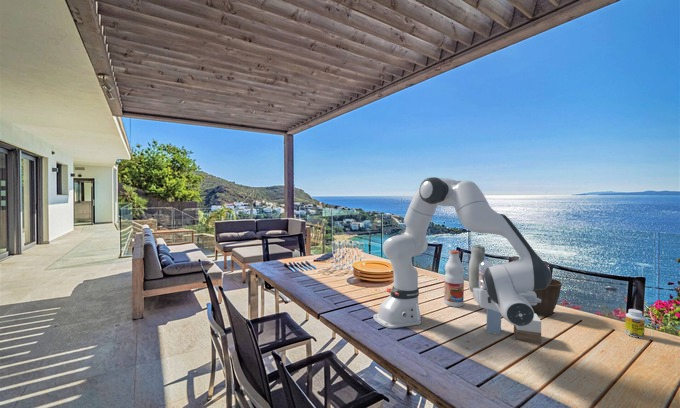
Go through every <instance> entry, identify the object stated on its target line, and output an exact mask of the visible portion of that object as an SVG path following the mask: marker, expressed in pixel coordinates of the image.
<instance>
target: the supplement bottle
mask: <svg viewBox="0 0 680 408" xmlns="http://www.w3.org/2000/svg"><path fill="white" fill-rule="evenodd" d="M645 320H646V318H645V316H644V315H643V311H642V310H638V309H635V308H629V309H628V311H627V312H626V313H625V321H624V333H625V334H626V336H629V335H630V337H632V336H633V337H632V338H635V337H639V338H638V339H644V338H645V325H646V324H645V323H646V321H645Z"/></svg>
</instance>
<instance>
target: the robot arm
mask: <svg viewBox="0 0 680 408" xmlns="http://www.w3.org/2000/svg"><path fill="white" fill-rule="evenodd" d="M439 206H440V207H442V206H443V207H454V210H455V212H456V216H457V218H458V220H459V221H460V223H461V226H462V227H463V228H465V229H466V230H468V231H469V232H473V233H477V234H488V235H489V234H490V235H491V234H493V235H499V236H501V237H503V238H505V239H506V240H507V241H508V243H509V244H510V245H511V246H512V248H513V249H514V250H515V252H516V254H517V255H518V257H520V258H519V259H517V260H516V259H515V260H512V261H508V262H505V263H500V264H496V265H493V266H491V267H488V268H487V269H486V270H485V273H484V275H483V281H484V285H485V288H473V292H472V297H473V300H474V301H475V302H476V303H477V304H478V305H479V304H480V305H479V306H480V308H481V309H485V310H487V309H490V310H494V311H497V312H500V313H501V317H503V318H504V320H505V321H506V322H508V323H509V324H511V325H513V326H514V325H516V326H525V325H528V324H529V323H531V322H532V320H533V318H534V311H533V308H532V306H531V305H537V303H538V302H541V299H539V298H537V295H536V293H535V292H534V291H535V290H543V289H546V288H547V287H548V286H549V284H550V283H551V280H552V279H553V275H552V272H551V270H550V267H549V266H548V265H547V263H546V262H545V261H544V260H543V259H542V258H541V257H540V256H539V255H538V254H537V253H536V250H534V249H533V248H532V246H531V245H530V244H529V242H528V241H527V240H526V238H525V237H524V236H523V234H522V233H521V232H520V230H519V229H518V228H517V226H515V224H514V223H513V222H512V220H511V219H510V218H509V217H508V216H507V215H506V214H504V213H503V214H502V213H498V212H497V211H496V210H494V209H493V208H492V207H491V206H490V204H489V203H488V200H487V198H486V196H485V195H484V193H483V191H482V190H481V189H480V187H479V186H478V185H477V184H476V182H474V181H472V180H464V181H462V180H456V179H451V178H444V177H443V178H442V177H441V178H440V177H435V176H434V177H428V178H425V179H424V180H423V181H422V182H421V183H420V186H419V188H418V189H417V191H416V192H415V194H414V195H413V197H412V200H411V201H410V204H409V206H408V208H407V211H406V213H405V215H404V218H403V223H404V225H405V230H404V232H403V234H397V235H393V236H391V237H389V238H387V239H386V240H384V241H383V245H382V252H383V254H384V256H385V257H386V258H387V259H388V260H389V262H390V263H391V267H392V270H393V286H392V287H391V288H390V287H387V288H386V292H387V293H390V294H389V296H387V297H386V298H385V299H384V300H383V302H382V303H380V304H379V307H378V313H375V314H373V316H372V317H373V320H374V321H375V322H376V323H378V324H379V325H380V326H383V327H384V328H388V329H397V328H398V329H399V328H405V327H410V326H417V325H421V320H422V315H421V311H420V307H419V305H420V304H419V296H420V295H419V293H420V290H419V284H418V283H419V278H418V277H419V273H418V272H419V271H418V270H417V269H416V267H415V266H414V265H413V262H412V258H414V257H418V256H420V255H421V254H423V253H425V252H426V251H427V249H428V244H429V243H428V240H427V231H428V228H429V226H430V224H431V221H432V219H433V217H434V215H435V213H436V210H437V208H438V207H439ZM532 290H533V291H532Z"/></svg>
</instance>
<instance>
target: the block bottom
mask: <svg viewBox="0 0 680 408" xmlns="http://www.w3.org/2000/svg"><path fill="white" fill-rule="evenodd" d="M513 334H514V337H515V338H516V340H517V341H519V342H526V343H532V344H536V345H537V344H538V345H542V332H541V333H537V332H530V331H523V330H517V328H516V326H515V325H513Z"/></svg>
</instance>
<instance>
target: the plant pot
mask: <svg viewBox="0 0 680 408" xmlns="http://www.w3.org/2000/svg"><path fill="white" fill-rule="evenodd" d="M562 284H563V283H562V282H561V281H560V280H557V279H555V278H552V280H551V283H550V284H549V286H548V287H547V288H546V289H543V290H535V291H534V292H535V293H536V295H537V298H539V299H541V302H538V303H537V305H531V306H532V308H533V311H534V313H535V314H537V316H542V317H550V316H552V315H553V313H554V311H555V308H556V307H557V304H558V302H559V301H558V300H559V298H560V294H561V289H562ZM532 291H533V290H532Z"/></svg>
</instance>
